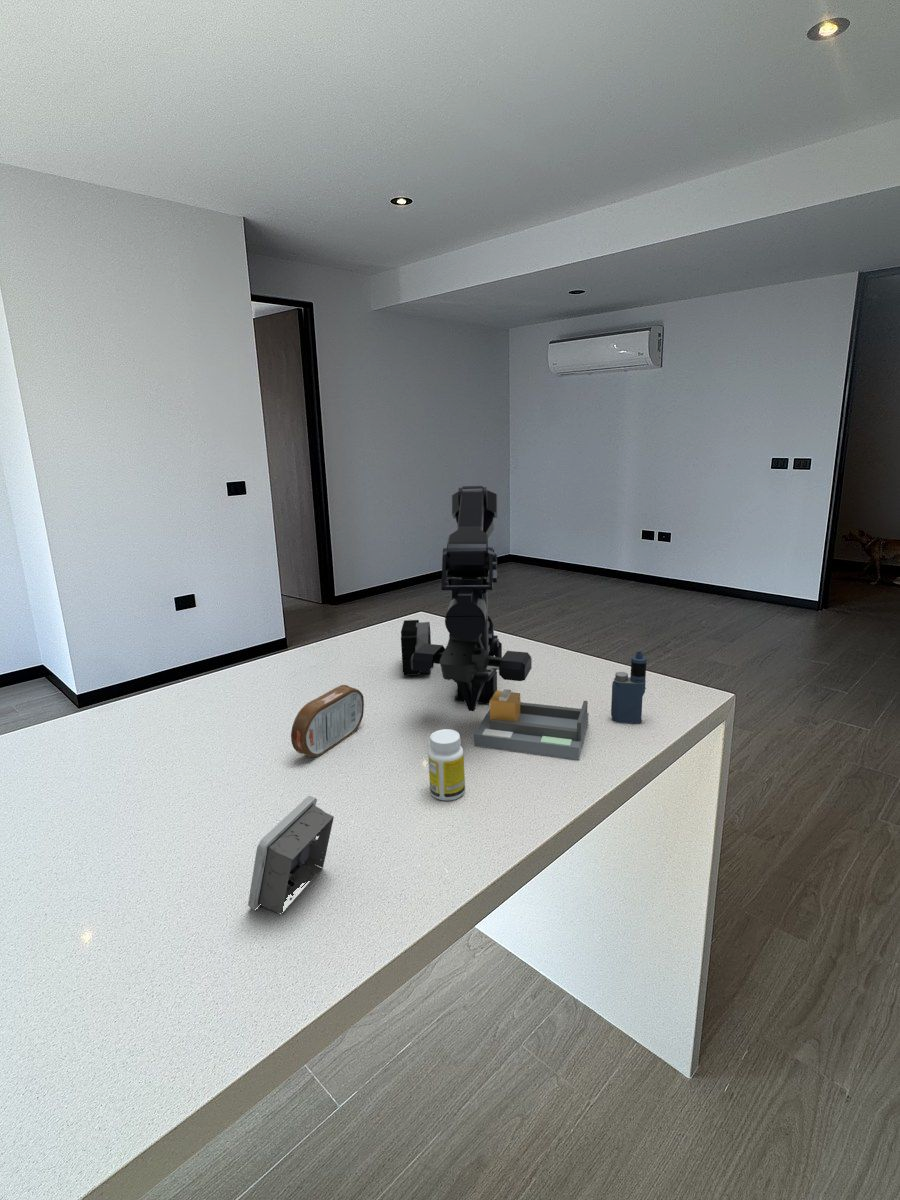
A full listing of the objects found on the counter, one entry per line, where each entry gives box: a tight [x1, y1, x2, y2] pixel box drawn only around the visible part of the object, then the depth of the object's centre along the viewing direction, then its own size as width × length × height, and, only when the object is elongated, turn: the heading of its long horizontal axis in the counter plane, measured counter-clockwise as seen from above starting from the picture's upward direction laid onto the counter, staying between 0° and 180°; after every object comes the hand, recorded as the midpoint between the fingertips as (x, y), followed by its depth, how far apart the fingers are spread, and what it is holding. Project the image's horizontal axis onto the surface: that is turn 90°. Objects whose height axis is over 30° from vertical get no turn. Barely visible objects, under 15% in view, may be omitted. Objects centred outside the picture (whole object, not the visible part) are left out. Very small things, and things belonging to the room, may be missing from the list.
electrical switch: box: [247, 795, 335, 915], centre depth 67 cm, size 9×5×9 cm, turn 158°
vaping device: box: [610, 651, 647, 724], centre depth 103 cm, size 3×5×12 cm, turn 79°
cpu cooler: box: [400, 619, 432, 676], centre depth 127 cm, size 10×6×10 cm, turn 179°
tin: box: [290, 684, 365, 758], centre depth 99 cm, size 15×3×8 cm, turn 150°
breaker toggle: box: [489, 688, 521, 722], centre depth 101 cm, size 4×4×5 cm
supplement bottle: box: [427, 728, 466, 801], centre depth 85 cm, size 5×5×8 cm
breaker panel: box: [473, 700, 590, 761], centre depth 100 cm, size 16×12×5 cm
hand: (471, 710), depth 103 cm, fingers closed
